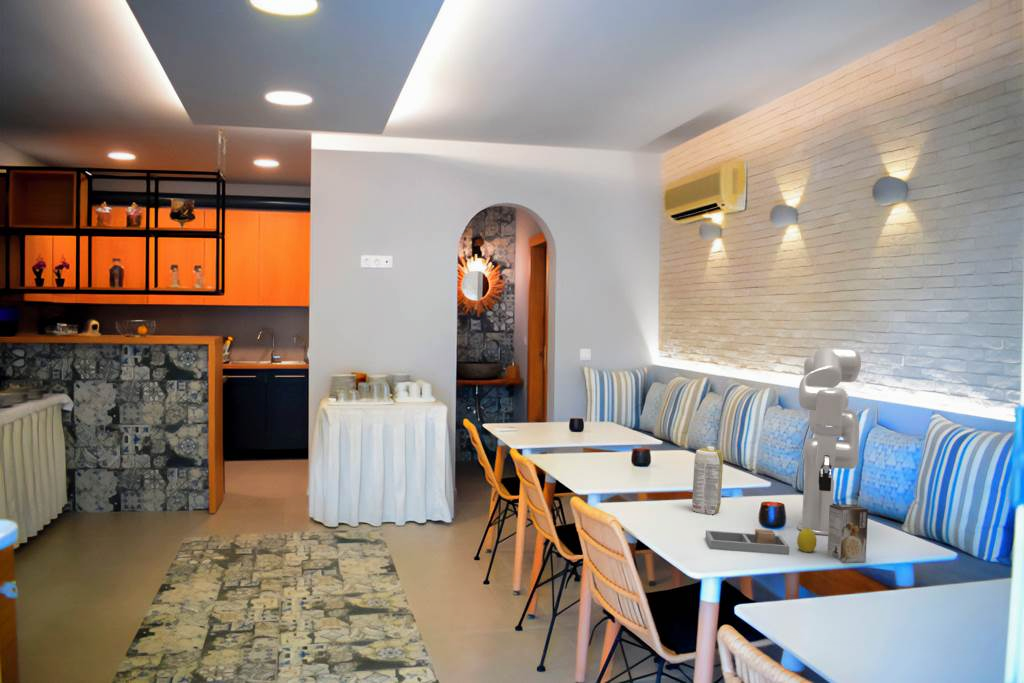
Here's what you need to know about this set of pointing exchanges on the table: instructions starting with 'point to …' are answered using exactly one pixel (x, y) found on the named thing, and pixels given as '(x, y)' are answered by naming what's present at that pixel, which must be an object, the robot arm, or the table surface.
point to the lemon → (806, 540)
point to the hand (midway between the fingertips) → (824, 487)
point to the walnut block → (764, 536)
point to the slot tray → (744, 543)
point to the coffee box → (847, 533)
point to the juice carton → (707, 480)
